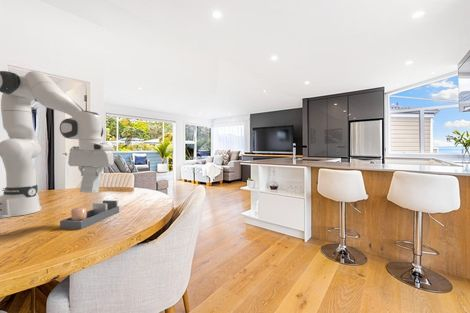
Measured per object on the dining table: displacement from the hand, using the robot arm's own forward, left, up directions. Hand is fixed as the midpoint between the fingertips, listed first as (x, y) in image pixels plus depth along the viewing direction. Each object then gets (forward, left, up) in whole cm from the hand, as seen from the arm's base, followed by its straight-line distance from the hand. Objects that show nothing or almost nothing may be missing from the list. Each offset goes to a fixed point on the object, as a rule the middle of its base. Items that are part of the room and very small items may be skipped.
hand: (91, 176), depth 97 cm
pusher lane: (0, +1, -21) cm, 21 cm away
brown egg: (0, -7, -20) cm, 22 cm away
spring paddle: (0, +5, -20) cm, 21 cm away
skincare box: (0, -1, -8) cm, 8 cm away
